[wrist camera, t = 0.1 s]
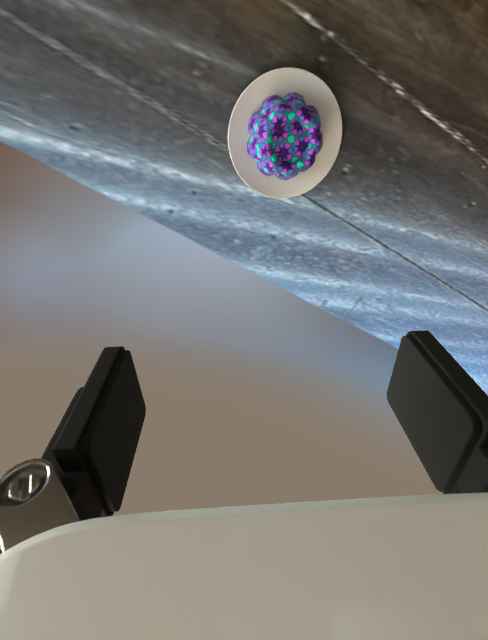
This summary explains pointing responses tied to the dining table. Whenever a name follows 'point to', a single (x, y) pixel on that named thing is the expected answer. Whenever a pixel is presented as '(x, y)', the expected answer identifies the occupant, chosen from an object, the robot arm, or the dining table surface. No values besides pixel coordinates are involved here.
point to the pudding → (285, 133)
